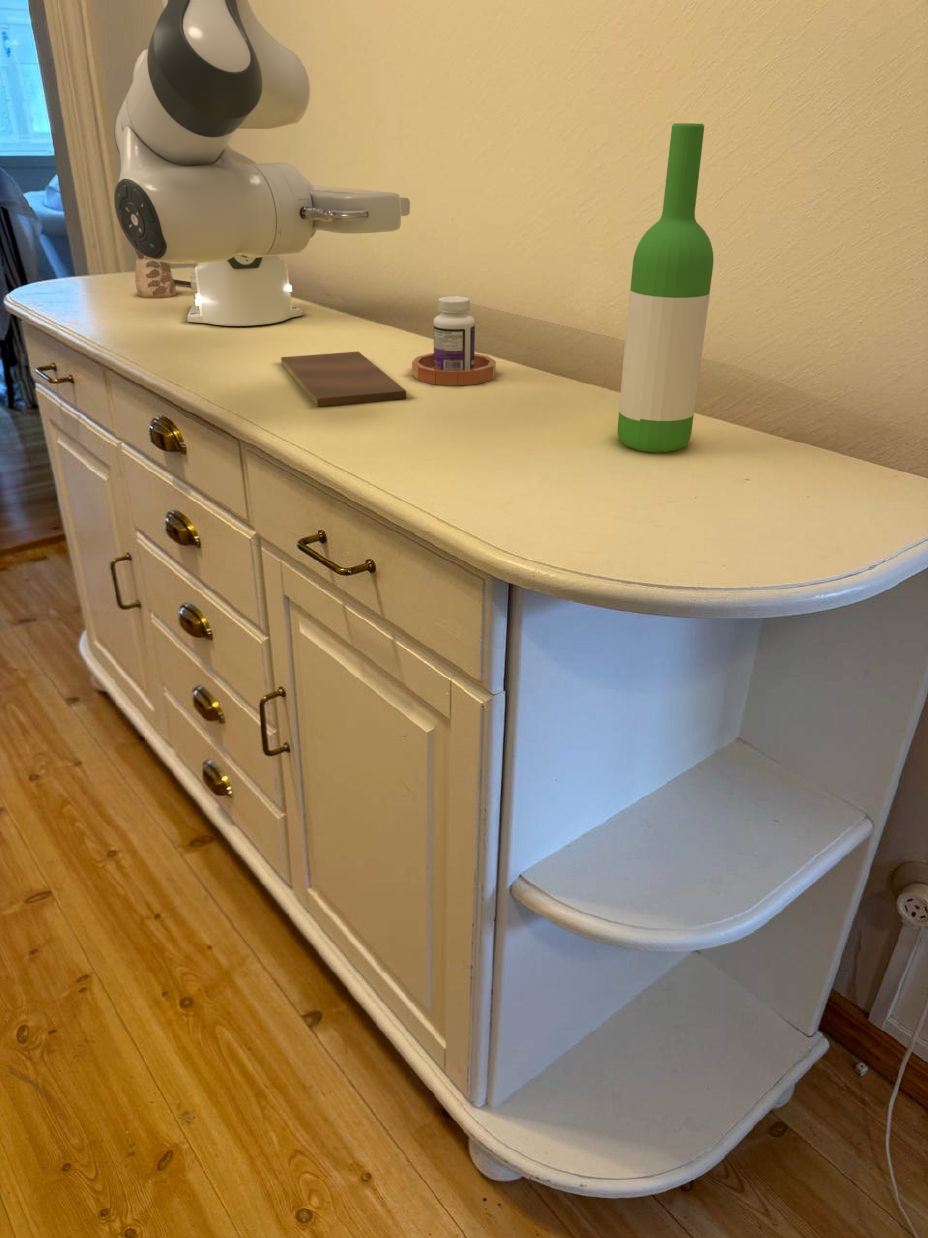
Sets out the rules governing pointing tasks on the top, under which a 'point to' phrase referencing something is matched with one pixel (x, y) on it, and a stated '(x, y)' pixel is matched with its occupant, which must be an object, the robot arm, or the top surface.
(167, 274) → the figurine
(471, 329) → the pill bottle
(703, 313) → the wine bottle
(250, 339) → the top surface
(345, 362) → the board
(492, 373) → the ring
